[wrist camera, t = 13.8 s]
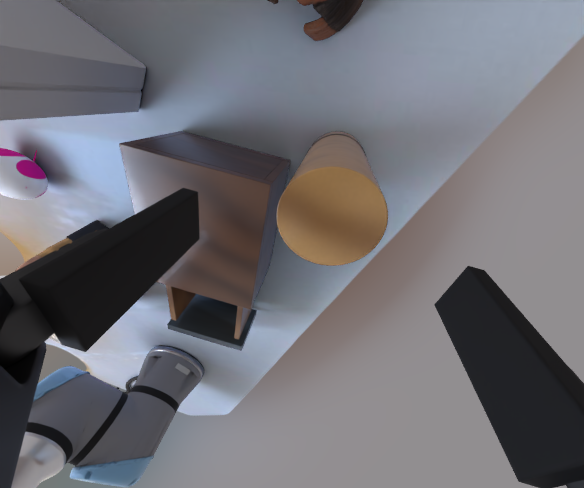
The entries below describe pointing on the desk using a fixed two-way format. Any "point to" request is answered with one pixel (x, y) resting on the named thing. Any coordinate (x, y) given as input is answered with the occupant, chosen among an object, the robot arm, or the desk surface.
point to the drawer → (209, 318)
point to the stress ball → (20, 176)
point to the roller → (333, 203)
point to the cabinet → (213, 209)
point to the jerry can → (61, 65)
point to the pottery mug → (329, 16)
